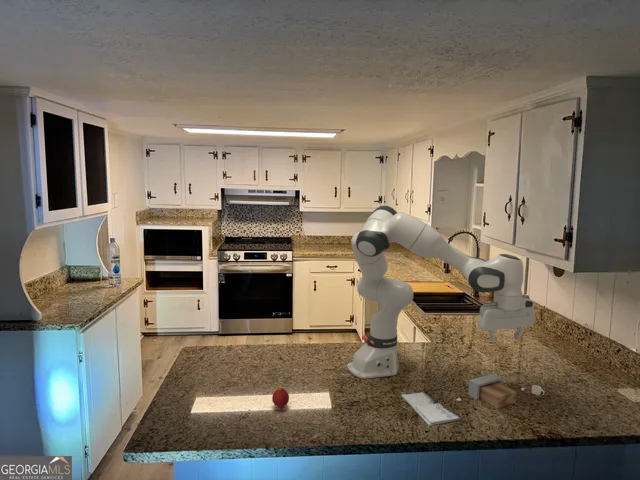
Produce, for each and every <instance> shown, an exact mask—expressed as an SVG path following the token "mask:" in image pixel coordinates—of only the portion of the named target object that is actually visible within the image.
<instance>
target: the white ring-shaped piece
mask: <svg viewBox="0 0 640 480" xmlns="http://www.w3.org/2000/svg"><path fill="white" fill-rule="evenodd" d="M525 389H527V388H526V387H522V388H521V391H525ZM542 392H543V393H542ZM531 393H532V394H533V395H536V396H540V395H541V393H542V395H541V396H544V394H545V390H543V389H542V387H541V386H540V385H536V384H533V385H531Z"/></svg>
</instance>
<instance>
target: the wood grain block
mask: <svg viewBox="0 0 640 480" xmlns="http://www.w3.org/2000/svg"><path fill="white" fill-rule="evenodd" d="M517 393H518V392H517V391H516V390H513V389H511V388H510V387H508V386H506V385H504V384H503V383H502V384H500V383H499V382H493V383H490V384H486V385H483V386H480V389H479V399H481V400H483V401H484V402H485V403H487V404H489V405H491V406H492V407H494V408H495V409H501V408H503V407H504V408H505V407H507V406H509V405H513V404H516V403H517Z"/></svg>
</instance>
